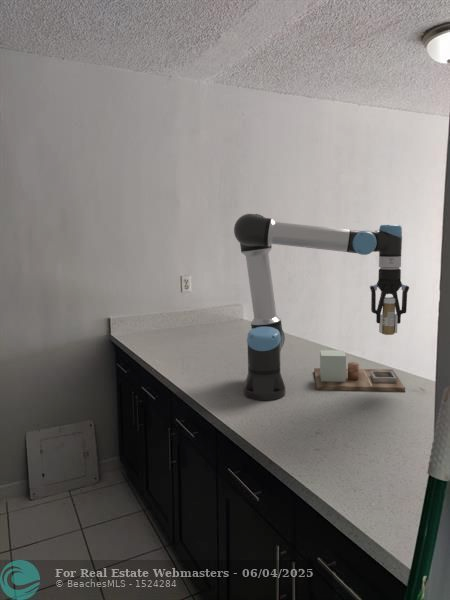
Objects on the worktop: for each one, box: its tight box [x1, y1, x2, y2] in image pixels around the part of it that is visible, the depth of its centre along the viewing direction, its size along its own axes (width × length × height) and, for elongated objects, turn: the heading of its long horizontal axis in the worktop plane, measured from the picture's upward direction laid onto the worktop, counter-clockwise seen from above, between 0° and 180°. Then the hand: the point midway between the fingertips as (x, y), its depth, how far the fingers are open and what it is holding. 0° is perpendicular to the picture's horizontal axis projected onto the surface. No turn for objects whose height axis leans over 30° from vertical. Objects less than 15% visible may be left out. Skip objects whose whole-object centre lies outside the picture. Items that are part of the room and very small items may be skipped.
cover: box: [319, 349, 347, 382], centre depth 182 cm, size 9×8×10 cm
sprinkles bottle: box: [381, 296, 396, 336], centre depth 172 cm, size 5×5×14 cm
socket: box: [370, 371, 398, 383], centre depth 180 cm, size 8×8×2 cm
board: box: [313, 361, 406, 393], centre depth 183 cm, size 31×22×8 cm
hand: (387, 332), depth 173 cm, fingers closed on sprinkles bottle, 4 cm apart
